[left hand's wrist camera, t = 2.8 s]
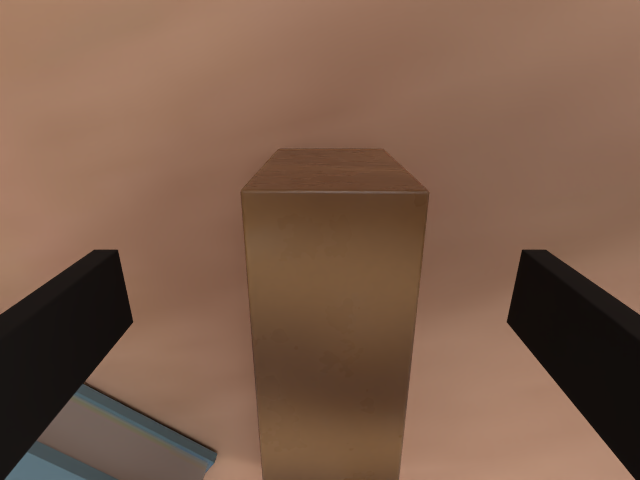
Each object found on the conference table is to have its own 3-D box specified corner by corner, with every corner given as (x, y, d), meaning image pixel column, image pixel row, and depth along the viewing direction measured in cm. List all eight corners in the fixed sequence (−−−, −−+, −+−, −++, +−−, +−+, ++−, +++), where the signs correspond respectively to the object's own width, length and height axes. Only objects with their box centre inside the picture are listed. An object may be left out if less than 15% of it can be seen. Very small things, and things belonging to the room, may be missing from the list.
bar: (278, 148, 19) (239, 189, 11) (384, 148, 19) (430, 190, 11) (290, 471, 27) (274, 640, 19) (364, 473, 27) (382, 642, 19)
